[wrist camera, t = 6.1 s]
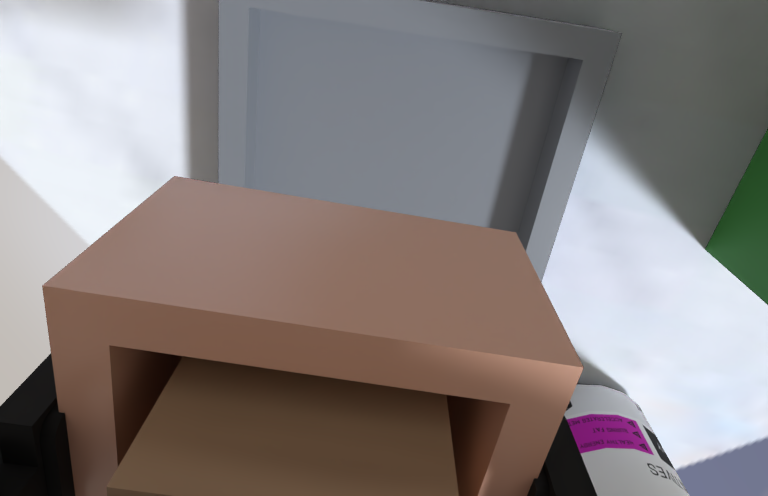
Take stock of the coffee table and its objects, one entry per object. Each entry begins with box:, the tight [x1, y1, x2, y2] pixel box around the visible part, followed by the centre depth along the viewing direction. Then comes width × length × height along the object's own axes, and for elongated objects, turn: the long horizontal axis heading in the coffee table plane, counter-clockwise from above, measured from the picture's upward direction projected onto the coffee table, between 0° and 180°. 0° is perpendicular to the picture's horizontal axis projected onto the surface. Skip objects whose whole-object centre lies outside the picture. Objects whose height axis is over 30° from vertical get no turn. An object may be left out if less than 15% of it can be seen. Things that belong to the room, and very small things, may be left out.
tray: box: [218, 0, 622, 282], centre depth 26 cm, size 18×16×2 cm
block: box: [107, 356, 459, 496], centre depth 10 cm, size 4×4×6 cm
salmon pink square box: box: [42, 176, 584, 496], centre depth 11 cm, size 7×7×4 cm
